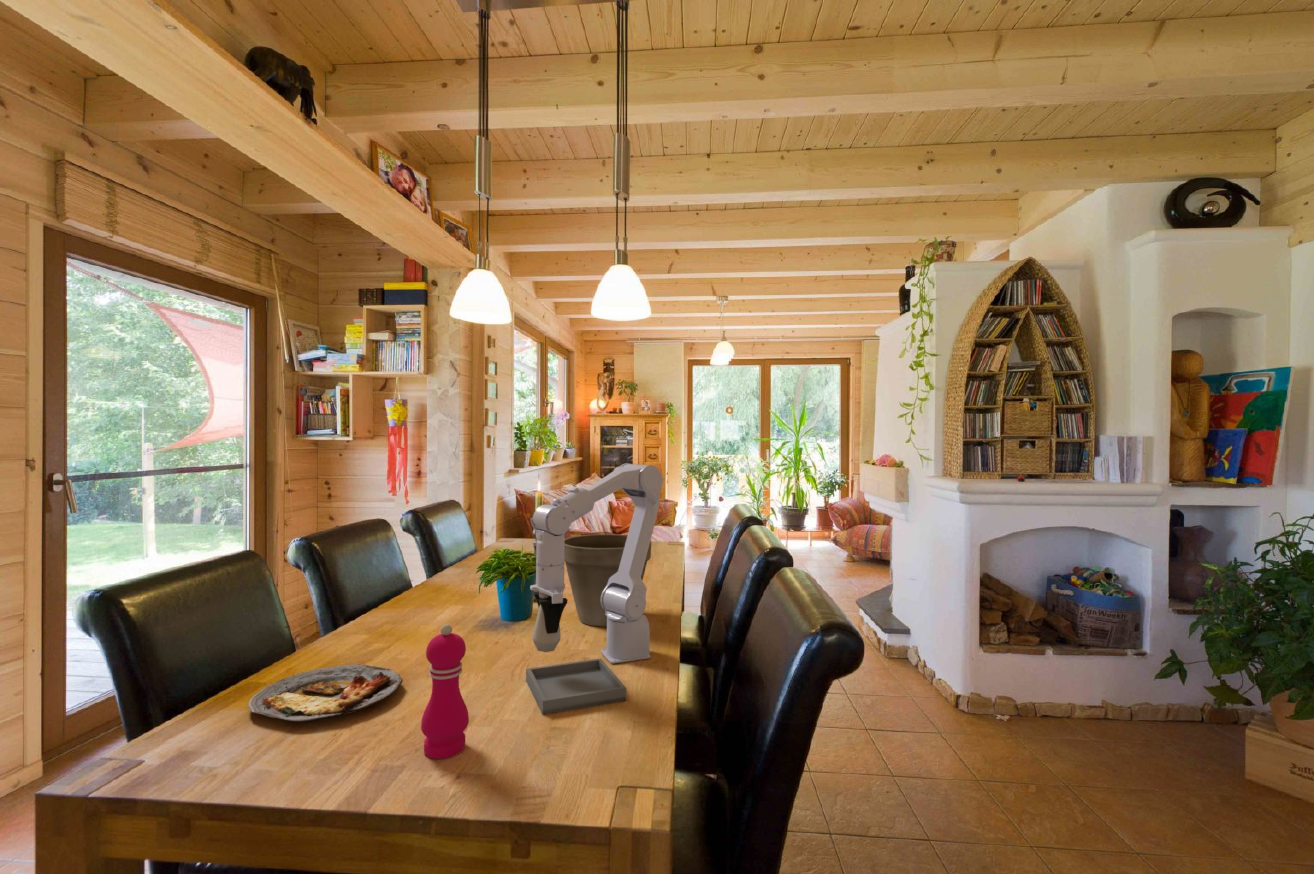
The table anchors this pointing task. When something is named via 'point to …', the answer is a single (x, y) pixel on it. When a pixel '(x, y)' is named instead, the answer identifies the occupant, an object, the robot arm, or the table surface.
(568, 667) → the tray
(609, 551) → the plant pot
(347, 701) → the food plate
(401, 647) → the table surface
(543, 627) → the salt shaker
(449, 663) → the pepper mill
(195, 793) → the table surface
